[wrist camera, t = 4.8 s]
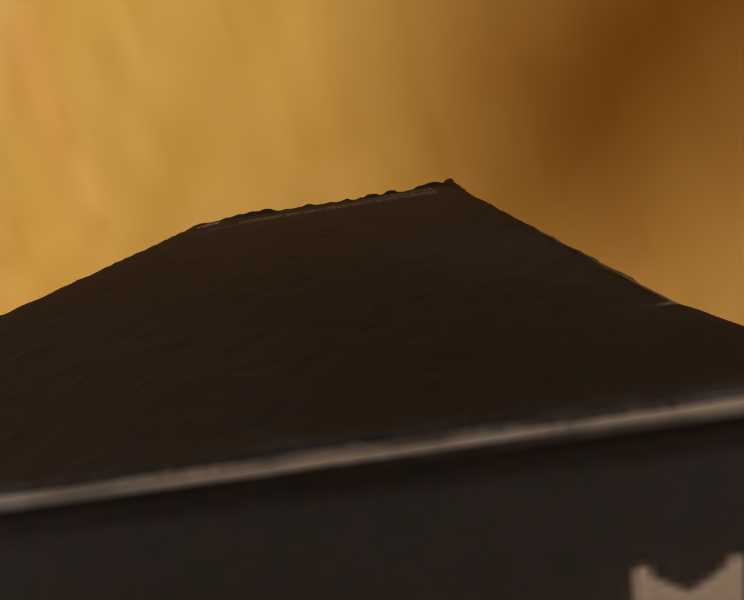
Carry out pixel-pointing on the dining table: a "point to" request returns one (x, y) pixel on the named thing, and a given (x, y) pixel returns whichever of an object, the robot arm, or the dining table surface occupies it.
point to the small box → (369, 418)
